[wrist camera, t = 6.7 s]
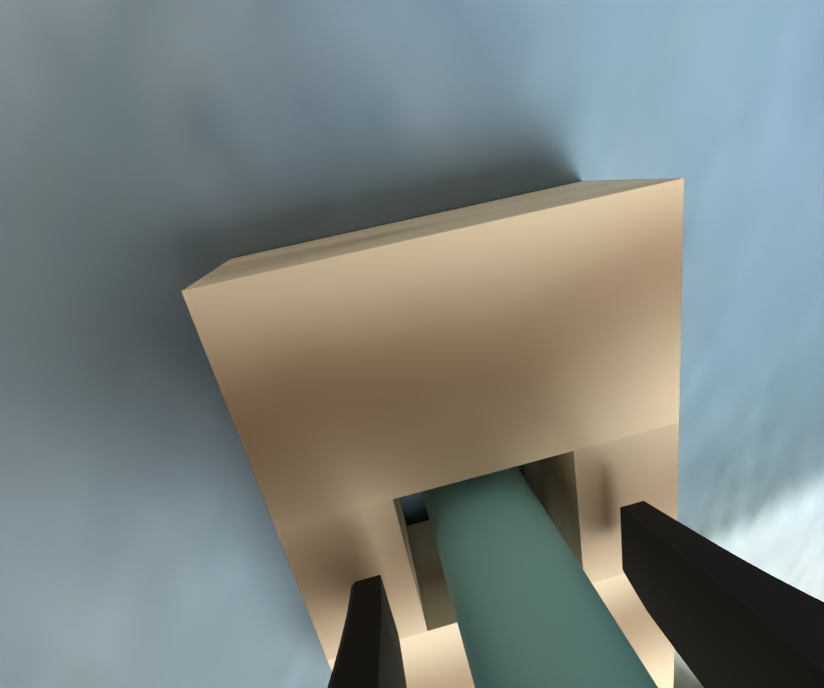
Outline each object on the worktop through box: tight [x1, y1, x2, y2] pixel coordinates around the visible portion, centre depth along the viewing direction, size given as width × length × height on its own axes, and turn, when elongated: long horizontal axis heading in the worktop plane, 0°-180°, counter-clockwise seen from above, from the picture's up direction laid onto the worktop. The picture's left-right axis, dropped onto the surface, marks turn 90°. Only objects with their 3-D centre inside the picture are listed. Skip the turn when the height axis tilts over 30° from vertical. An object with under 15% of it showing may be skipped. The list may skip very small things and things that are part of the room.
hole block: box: [181, 178, 684, 688], centre depth 13 cm, size 16×10×4 cm, turn 11°
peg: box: [422, 466, 658, 688], centre depth 11 cm, size 3×3×9 cm
